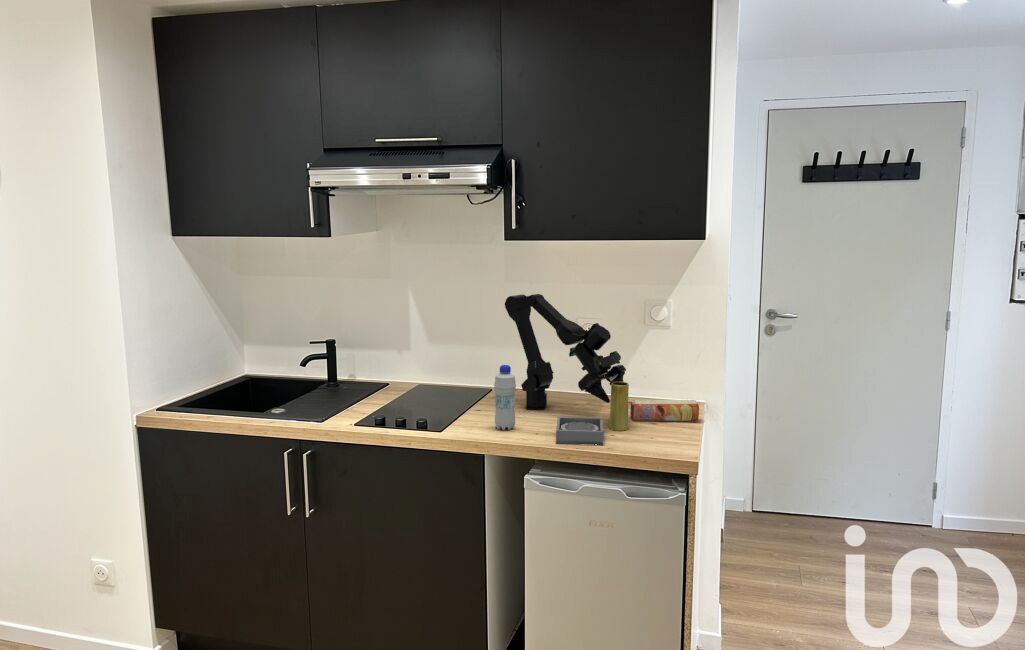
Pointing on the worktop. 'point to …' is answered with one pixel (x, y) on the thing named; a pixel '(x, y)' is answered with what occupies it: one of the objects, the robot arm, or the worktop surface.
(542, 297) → the robot arm
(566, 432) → the tray
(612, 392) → the vase
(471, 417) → the worktop surface
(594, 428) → the collar
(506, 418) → the bottle
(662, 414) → the snack package
